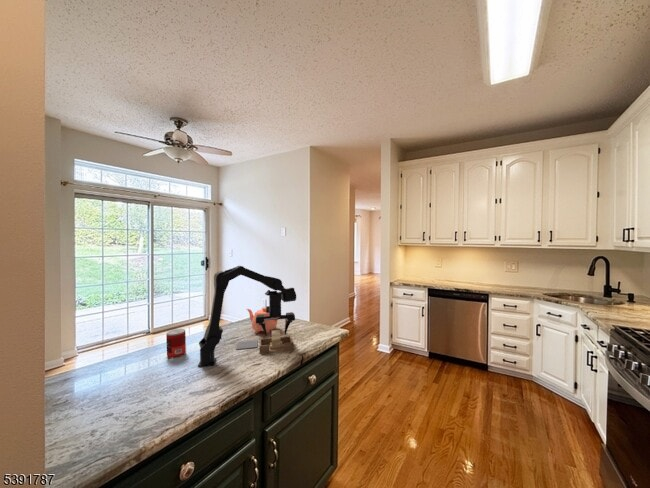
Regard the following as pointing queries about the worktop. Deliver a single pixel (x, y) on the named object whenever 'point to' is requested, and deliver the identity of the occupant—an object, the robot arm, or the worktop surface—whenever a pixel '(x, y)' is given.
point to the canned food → (176, 343)
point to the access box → (267, 347)
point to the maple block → (276, 338)
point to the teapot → (268, 323)
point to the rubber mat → (247, 344)
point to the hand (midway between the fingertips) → (275, 335)
